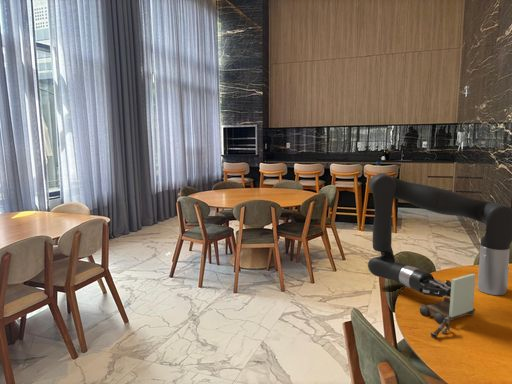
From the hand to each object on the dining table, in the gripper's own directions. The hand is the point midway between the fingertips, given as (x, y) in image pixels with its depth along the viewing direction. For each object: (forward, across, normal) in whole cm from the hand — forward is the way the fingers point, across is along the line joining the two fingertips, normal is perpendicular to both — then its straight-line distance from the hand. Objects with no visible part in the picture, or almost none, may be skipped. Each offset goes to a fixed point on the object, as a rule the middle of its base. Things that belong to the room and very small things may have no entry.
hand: (460, 297), depth 119 cm
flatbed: (-5, 0, +8) cm, 9 cm away
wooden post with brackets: (+3, -12, +8) cm, 15 cm away
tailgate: (0, 0, +6) cm, 6 cm away
